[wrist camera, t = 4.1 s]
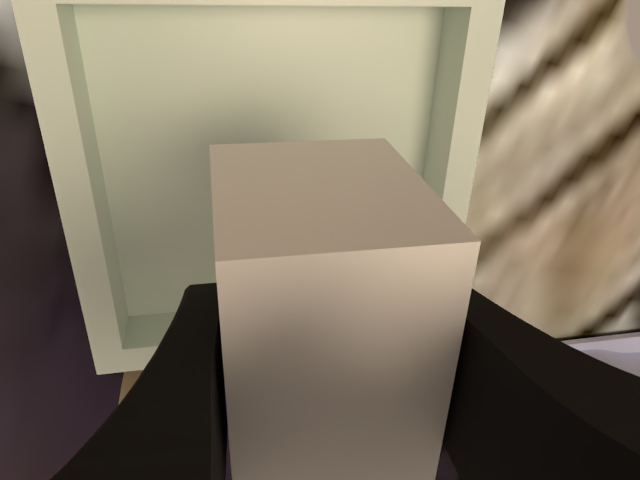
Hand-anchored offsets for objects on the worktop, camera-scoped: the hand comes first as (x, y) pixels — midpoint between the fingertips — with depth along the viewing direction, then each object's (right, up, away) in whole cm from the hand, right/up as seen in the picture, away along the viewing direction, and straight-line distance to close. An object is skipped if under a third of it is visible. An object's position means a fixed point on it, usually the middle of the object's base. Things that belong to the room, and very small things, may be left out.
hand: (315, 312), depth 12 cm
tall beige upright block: (0, +1, +2) cm, 2 cm away
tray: (-2, +4, +7) cm, 9 cm away
